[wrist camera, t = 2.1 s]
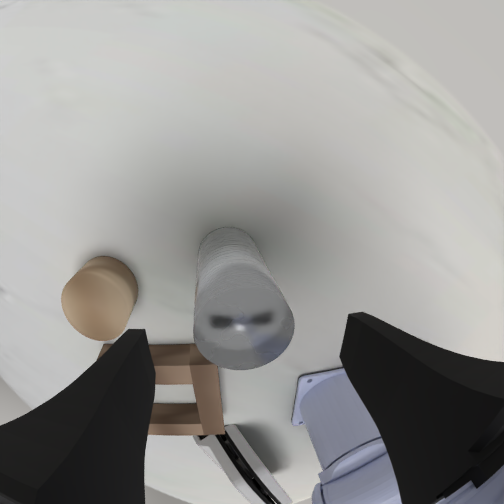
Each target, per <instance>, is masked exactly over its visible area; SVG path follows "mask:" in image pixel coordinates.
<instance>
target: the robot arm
mask: <svg viewBox="0 0 504 504" xmlns="http://www.w3.org/2000/svg"><path fill="white" fill-rule="evenodd" d="M339 357H340V359H341V362H342V364H343V367H344V368H342V369H337V370H332V371H327V372H322V373H317V374H311V375H305V376H302V377H300V378H299V380H298V387H297V393H296V399H295V405H294V411H293V417H292V425H293V426H297V425H303V424H305V425H306V428H307V431H308V433H309V436H310V438H311V441H312V444H313V446H314V449H315V451H316V454H317V457H318V459H319V462H320V464H321V467H322V470H323V472H321V473H319V474H318V475H319V478H320V480H321V482H320V483H318V484H316V485H315V487H314V491H313V493H312V504H504V362H496V361H489V360H483V359H478V358H474V357H469V356H465V355H461V354H458V353H455V352H452V351H449V350H446V349H443V348H440V347H437V346H435V345H433V344H430V343H428V342H426V341H423V340H421V339H419V338H417V337H414V336H412V335H410V334H408V333H406V332H404V331H402V330H400V329H398V328H396V327H394V326H392V325H390V324H388V323H386V322H384V321H382V320H380V319H378V318H376V317H374V316H372V315H369V314H367V313H364V312H358V313H351V314H348V319H347V324H346V329H345V334H344V339H343V343H342V348H341V352H340V356H339ZM309 379H310V380H309ZM155 380H156V372H155V368H154V364H153V360H152V357H151V353H150V349H149V344H148V340H147V336H146V332H145V329H128V330H127V331H126V332H125V333H124V334H123V335H122V336H121V337H120V338H119V339H118V340H117V341H116V342H115V343H114V344H113V345H112V346H111V347H110V348H109V349H108V350H107V351H106V352H105V353H104V354H103V355H102V356H101V357H100V358H99V359H98V360H97V361H96V362H95V363H94V364H93V365H92V366H90V367H89V368H88V369H87V370H86V371H85V372H84V373H83V374H82V375H80V376H79V377H78V378H77V379H76V380H75V381H74V382H73V383H71V384H70V385H69V386H68V387H66V388H65V389H64V390H62V391H61V392H60V393H58V394H57V395H56V396H54V397H53V398H51V399H50V400H48V401H47V402H45V403H43V404H42V405H40V406H38V407H37V408H35V409H33V410H32V411H30V412H29V413H27V414H25V415H23V416H21V417H19V418H17V419H15V420H13V421H10V422H8V423H6V424H3V425H1V426H0V504H145V490H144V458H145V448H146V442H147V436H148V430H149V424H150V419H151V413H152V408H153V402H154V396H155Z"/></svg>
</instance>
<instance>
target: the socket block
mask: <svg viewBox="0 0 504 504" xmlns="http://www.w3.org/2000/svg"><path fill="white" fill-rule="evenodd" d="M112 345H113V344H104V345H103V347H102V349H101V351H100V354H99V356H98V358H97V360H98V359H99V358H100V357H101V356H102V355H103V354H104V353H105V352H106V351H107V350H108V349H109V348H110V347H111V346H112ZM149 349H150V353H151V357H152V360H153V364H154V368H155V372H156V380H155V384H162V385H172V384H193V387H194V392H195V397H196V402H197V403H195V404H153V408H152V413H151V419H150V424H149V430H148V435H217V434H225V429H224V420H223V411H222V403H221V394H220V385H219V375H218V366H217V365H215V364H214V363H212V362H210V361H209V360H207V359H206V358H205V357H204V356H203V355H202V354H201V352H200V351H199V350H198V348H197V346H196V344H176V345H149Z"/></svg>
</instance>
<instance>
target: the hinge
mask: <svg viewBox="0 0 504 504" xmlns="http://www.w3.org/2000/svg"><path fill="white" fill-rule="evenodd" d="M224 428H225V434H224V435H225V437H226V438H227V440H226V441H225V442H224V440H223V439H222V438H221V436H220V435H219V434H217V435H209V436H207V437H205V438H204V439H201V438H200V437H199V436H198V435H193V437H194V440H195V442H196V444H197V445H198V446H199V447H200V448H201V449H202V450H203V451H204V452H205V453H206V454H207V455H208V456H209V457H210V458H211V459H212V461H213V462H214V463H215V464H216V465H217V466H219V467H220V468H221V469H222V470H223V471H224V472H225V473H226V475H227V476H228V478H229V479H230V481H231V482H232V484H233V485H234V486H235V488H236V489H237V490H238V491H239V492H240V493H241V494H242V495H243V496H244V497H245V498H246V499H247V500H248V501H249V502H250V503H251V504H275V503H274V501H275V502H276V503H277V504H291V503H292V502H293V501H292V500H291V499H290V497H289V496H288V495H287V493H286V492H285V491H284V490H283V488H282V487H281V486H280V485H279V483H278V482H277V481H276V479H275V478H274V477H273V476H272V474H271V473H270V472H269V470H268V469H267V468H266V466H265V465H264V464H263V463H262V461H261V460H260V459H259V457H258V456H257V455H256V453H255V452H254V451H253V449H252V448H251V447H250V445H249V444H248V442H247V441H246V440H245V438H244V437H243V435H242V434H241V433H240V431H239V430H238V428H237V427H236V425H235V424H232V425H228V426H225V427H224ZM238 457H239V458H238ZM237 458H238V459H237ZM236 459H237V460H236ZM252 478H253V479H252ZM270 497H271V498H272V499H273V500H274V501H273V500H272V499H271V498H270Z"/></svg>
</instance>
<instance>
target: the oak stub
mask: <svg viewBox="0 0 504 504" xmlns="http://www.w3.org/2000/svg"><path fill="white" fill-rule="evenodd" d="M137 297H138V285H137V282H136V279H135V277H134V275H133V273H132V272H131V270H130V269H129V268H128V267H127V266H126V265H125V264H124V263H122V262H121V261H119V260H117V259H115V258H112V257H108V256H99V257H95V258H93V259H91V260H90V261H88V262H87V263H86V264H85V265H84V266H83V267H82V268H81V269H80V270H79V271H78V272H77V273H76V274H75V275H74V276H73V277H72V278H71V279H70V280H69V281H68V283H67V284H66V285H65V287H64V289H63V291H62V296H61V303H62V308H63V311H64V314H65V316H66V318H67V320H68V321H69V322H70V324H71V325H72V326H73V327H74V328H75V329H76V330H77V331H78V332H80V333H81V334H82V335H84V336H86V337H88V338H90V339H93V340H98V341H108V340H112V339H114V338H116V337H118V336H119V335H120V334H121V333H122V332H123V331H124V329H125V327H126V324H127V322H128V319H129V317H130V315H131V312H132V310H133V308H134V305H135V303H136V301H137Z"/></svg>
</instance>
